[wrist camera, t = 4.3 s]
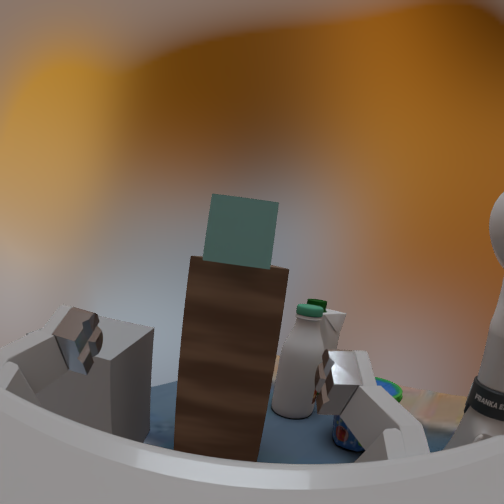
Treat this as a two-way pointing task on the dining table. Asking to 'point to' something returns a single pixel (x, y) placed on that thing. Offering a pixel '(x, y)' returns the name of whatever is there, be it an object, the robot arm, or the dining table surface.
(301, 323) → the milk bottle
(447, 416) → the dining table surface
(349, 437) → the snack cup
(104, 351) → the base block
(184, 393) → the walnut stand
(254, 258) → the batten
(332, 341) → the milk carton
